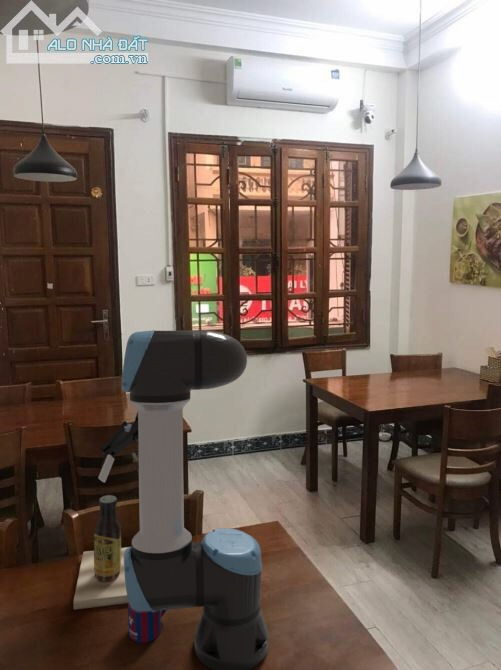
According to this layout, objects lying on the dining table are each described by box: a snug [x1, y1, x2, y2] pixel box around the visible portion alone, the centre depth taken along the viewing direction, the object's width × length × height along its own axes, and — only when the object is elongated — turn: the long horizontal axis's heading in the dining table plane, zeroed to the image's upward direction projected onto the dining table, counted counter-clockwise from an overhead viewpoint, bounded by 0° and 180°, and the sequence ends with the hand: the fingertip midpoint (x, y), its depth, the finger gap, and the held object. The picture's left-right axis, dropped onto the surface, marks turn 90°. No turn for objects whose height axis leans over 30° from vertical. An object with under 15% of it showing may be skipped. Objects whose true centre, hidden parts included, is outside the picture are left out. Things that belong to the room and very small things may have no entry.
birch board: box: [73, 546, 130, 611], centre depth 126 cm, size 20×14×2 cm
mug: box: [127, 602, 167, 644], centre depth 109 cm, size 7×10×7 cm
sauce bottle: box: [93, 494, 122, 581], centre depth 123 cm, size 7×6×20 cm
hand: (124, 484), depth 129 cm, fingers open, 13 cm apart
